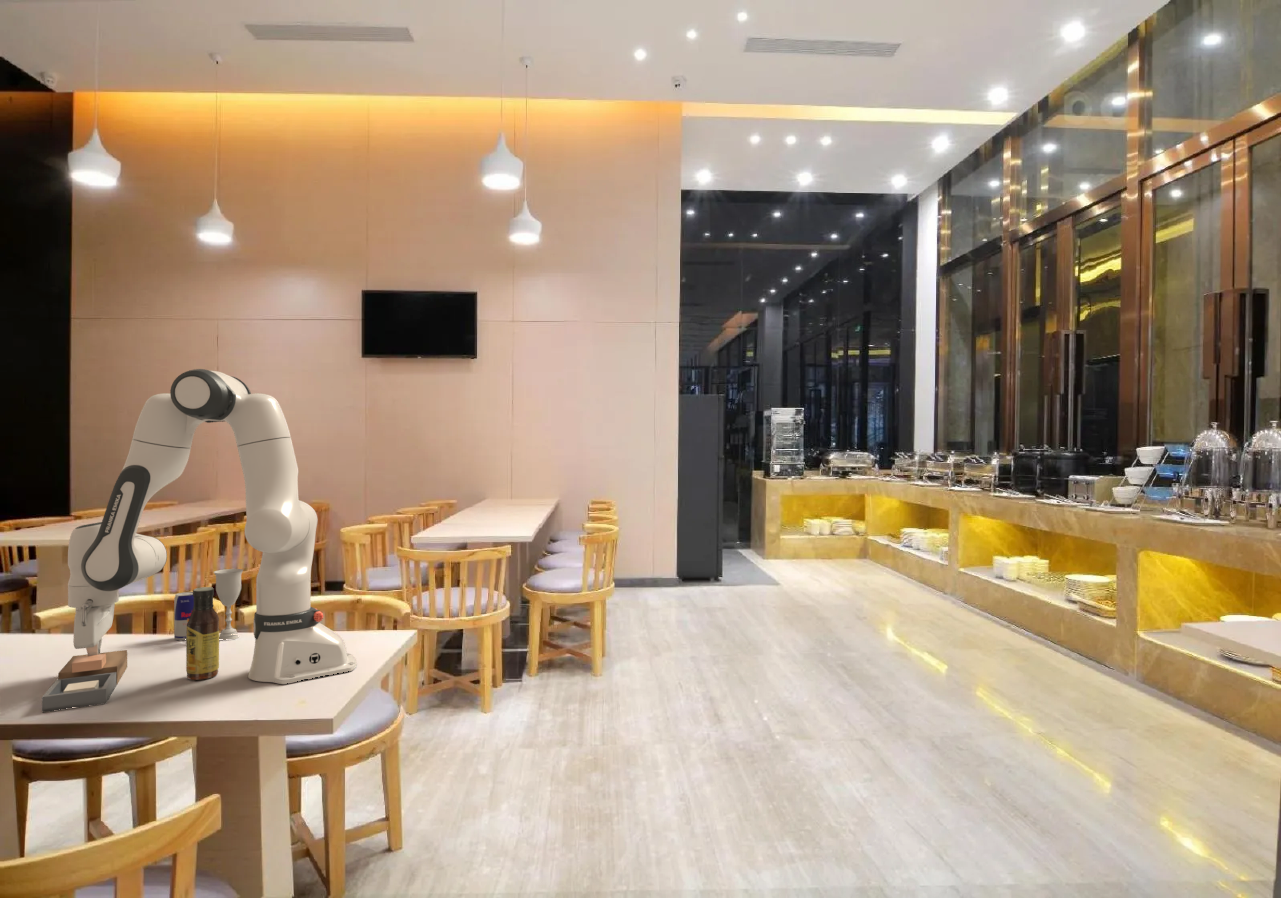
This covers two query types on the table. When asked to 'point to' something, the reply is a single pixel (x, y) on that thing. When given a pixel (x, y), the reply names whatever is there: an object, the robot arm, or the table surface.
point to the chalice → (228, 596)
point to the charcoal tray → (79, 692)
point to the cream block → (82, 686)
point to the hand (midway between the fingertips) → (94, 658)
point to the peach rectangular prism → (89, 663)
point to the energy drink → (182, 614)
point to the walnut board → (114, 663)
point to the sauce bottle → (202, 637)
